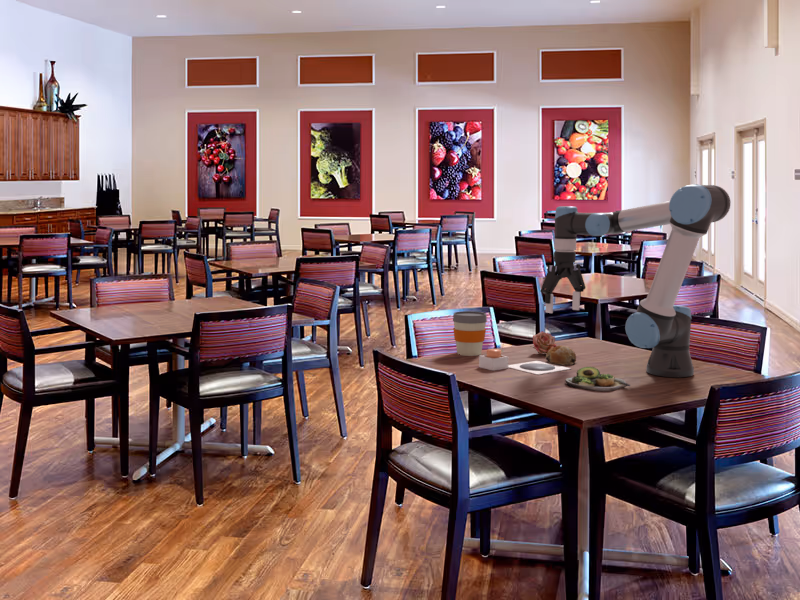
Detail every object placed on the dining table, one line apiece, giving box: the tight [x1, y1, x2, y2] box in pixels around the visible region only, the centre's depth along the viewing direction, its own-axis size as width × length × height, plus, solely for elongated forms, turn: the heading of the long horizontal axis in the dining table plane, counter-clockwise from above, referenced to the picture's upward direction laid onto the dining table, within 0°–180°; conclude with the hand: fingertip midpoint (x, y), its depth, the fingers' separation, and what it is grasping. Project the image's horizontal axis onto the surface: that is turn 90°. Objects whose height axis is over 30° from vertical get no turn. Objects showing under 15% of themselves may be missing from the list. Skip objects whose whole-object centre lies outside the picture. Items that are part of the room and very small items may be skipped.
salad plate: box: [564, 366, 631, 392], centre depth 269 cm, size 19×18×5 cm
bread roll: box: [545, 345, 577, 366], centre depth 304 cm, size 10×10×8 cm
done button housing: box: [478, 354, 509, 371], centre depth 294 cm, size 7×7×4 cm
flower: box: [529, 331, 557, 355], centre depth 319 cm, size 10×9×8 cm
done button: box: [485, 348, 502, 358], centre depth 294 cm, size 5×5×3 cm
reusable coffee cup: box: [452, 310, 488, 357], centre depth 319 cm, size 13×13×15 cm
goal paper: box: [507, 360, 572, 376], centre depth 294 cm, size 16×16×1 cm
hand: (562, 311), depth 302 cm, fingers open, 13 cm apart
